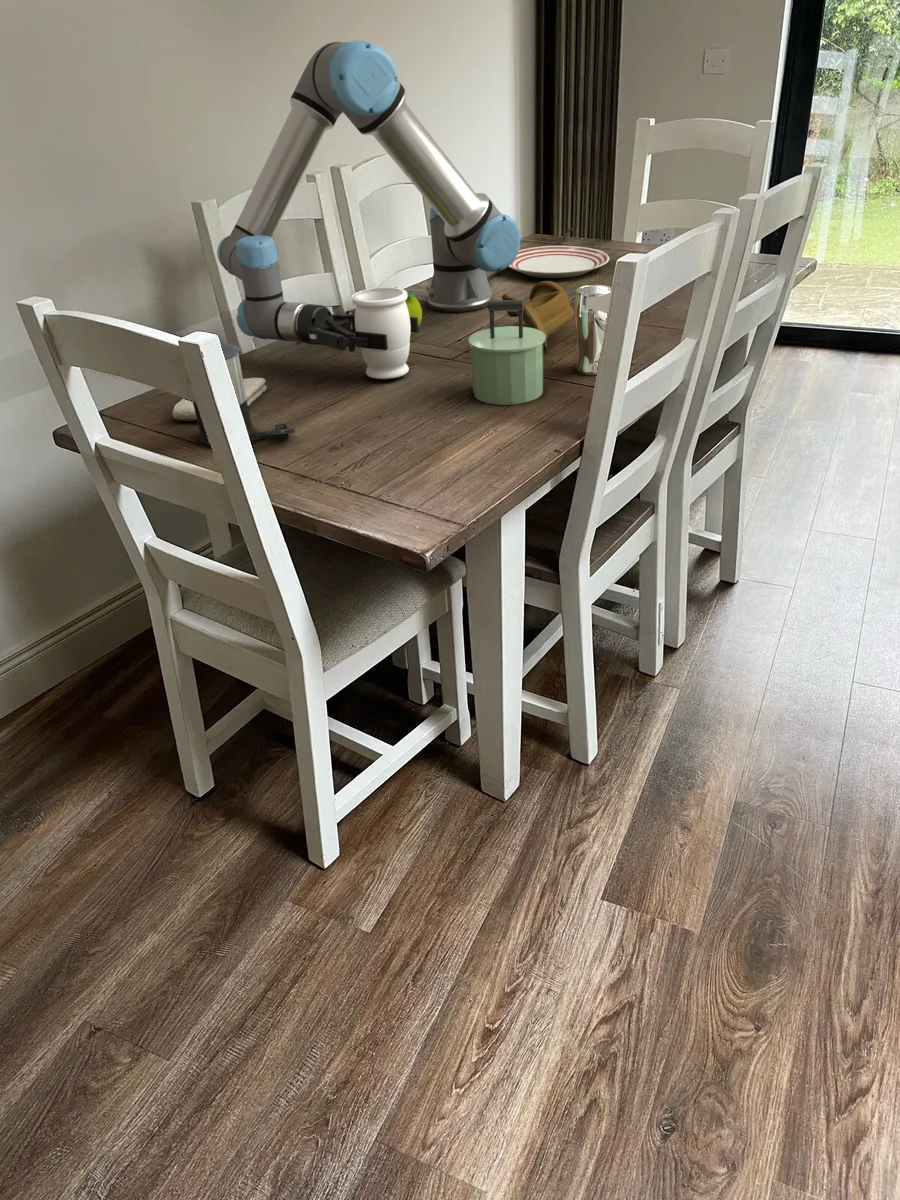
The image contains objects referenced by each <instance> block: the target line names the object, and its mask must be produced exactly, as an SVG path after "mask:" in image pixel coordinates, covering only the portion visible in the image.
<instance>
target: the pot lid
mask: <svg viewBox="0 0 900 1200" xmlns="http://www.w3.org/2000/svg"><path fill="white" fill-rule="evenodd" d="M524 304H525V303H524V300H523V299H517V300H506V301H503V300H492V301H488V306H487V311H488V312H489V328H486V329H482V330H478V331H476V332H474V333H472V334H471V335H470V336H469V337H468V338H467V339H468V340H467V341H468V345H469V346H470V348H471V347H473V348H475V349H477V350H481V351H486V352H497V353H505V352H518V351H524V350H528V349H532V348H535V347H537V346H539V345H541V344H543V343H544V342H545V340H546V336H545V334H544V333H543V332H542V331H540V330H537V329H534V328H529V327H528V326H524V320H523V310H524ZM506 311H518V316H517V318H518V321H517V322H518V326H517V325H515V326H514V325H507V326H505V325H504V326H496V327H495V313H497V312H498V313H500V312H506Z"/></svg>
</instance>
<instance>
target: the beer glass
mask: <svg viewBox="0 0 900 1200" xmlns="http://www.w3.org/2000/svg"><path fill="white" fill-rule="evenodd" d="M611 288H613V287H612V286H610V285H605V284H587V285H582V286H580V287H578V288H576V293H575V294H576V295H575V305H574V322H575V330H576V337H577V343H578V360H577V363H576V364H577V365H576V371H577V373H579V374H581V375H584V376H597V375H596V373H597V367H598V362H599V358H600V353H601V349H602V344H603V338H604V331H605V324H606V318H607V312H608V306H609V301H610V295H611Z"/></svg>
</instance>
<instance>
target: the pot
mask: <svg viewBox="0 0 900 1200" xmlns="http://www.w3.org/2000/svg"><path fill="white" fill-rule="evenodd" d="M470 357H471V358H470V359H471V378H472V392H473V393H472V394H473V396H474V398H475V399H476V400H478V401H480V402H482V403H485V404H491V405H497V406H498V405H501V406H502V405H503V406H506V405H518V404H525V403H528V402H532V401H535V400H536V399H539V398H540V397H541V396H542V395H543V394H544V387H545V385H544V379H545V378H544V353H543V344H541V345H539V346H537V347H535V348H532V349H528V350H524V351H518V352H505V353H497V352H486V351H481V350H477V349H475V348H473V347H471V346H470Z"/></svg>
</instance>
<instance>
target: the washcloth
mask: <svg viewBox="0 0 900 1200" xmlns="http://www.w3.org/2000/svg"><path fill="white" fill-rule="evenodd" d="M243 382H244V388H245V393H246V398H247V404H248V407H249V406H250V405H251V404H252V403H254V402H255V401H256V400H257V399H258V398H259V397H261V395H262V394H263V393H265V392H266V390H267V388H268V387H267V385H265V383H266V379H265V378H264V377H249V378H243ZM181 416H182V417H183V416H184V417H185V416H186V417H193V416H196V413H195V409H194V406H193V402H191V401H188V400H185V399H183V398H182V399H181V400H179V402H177V403H176V404H175V405H174V407H173V410H172V418H173V417H181ZM173 419H174V420H177V421H186V422H187V421H188V422H193V421H197V418H173Z"/></svg>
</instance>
